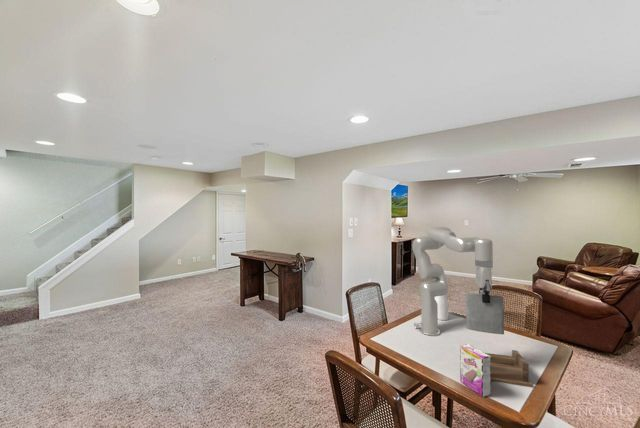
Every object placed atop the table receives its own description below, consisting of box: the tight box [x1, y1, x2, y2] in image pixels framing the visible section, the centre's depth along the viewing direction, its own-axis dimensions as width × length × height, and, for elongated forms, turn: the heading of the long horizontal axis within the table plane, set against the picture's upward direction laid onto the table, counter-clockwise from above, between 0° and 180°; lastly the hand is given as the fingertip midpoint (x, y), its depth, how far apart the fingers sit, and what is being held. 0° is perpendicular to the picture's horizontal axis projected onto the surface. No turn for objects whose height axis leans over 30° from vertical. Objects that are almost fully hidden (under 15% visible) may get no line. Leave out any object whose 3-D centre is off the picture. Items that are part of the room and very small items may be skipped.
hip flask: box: [465, 290, 505, 335], centre depth 131 cm, size 16×4×20 cm, turn 64°
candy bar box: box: [459, 343, 492, 398], centre depth 114 cm, size 11×5×16 cm, turn 21°
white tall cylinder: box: [434, 294, 449, 321], centre depth 190 cm, size 10×10×30 cm
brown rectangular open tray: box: [484, 349, 534, 388], centre depth 125 cm, size 15×24×9 cm, turn 73°
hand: (484, 300), depth 131 cm, fingers closed on hip flask, 4 cm apart
